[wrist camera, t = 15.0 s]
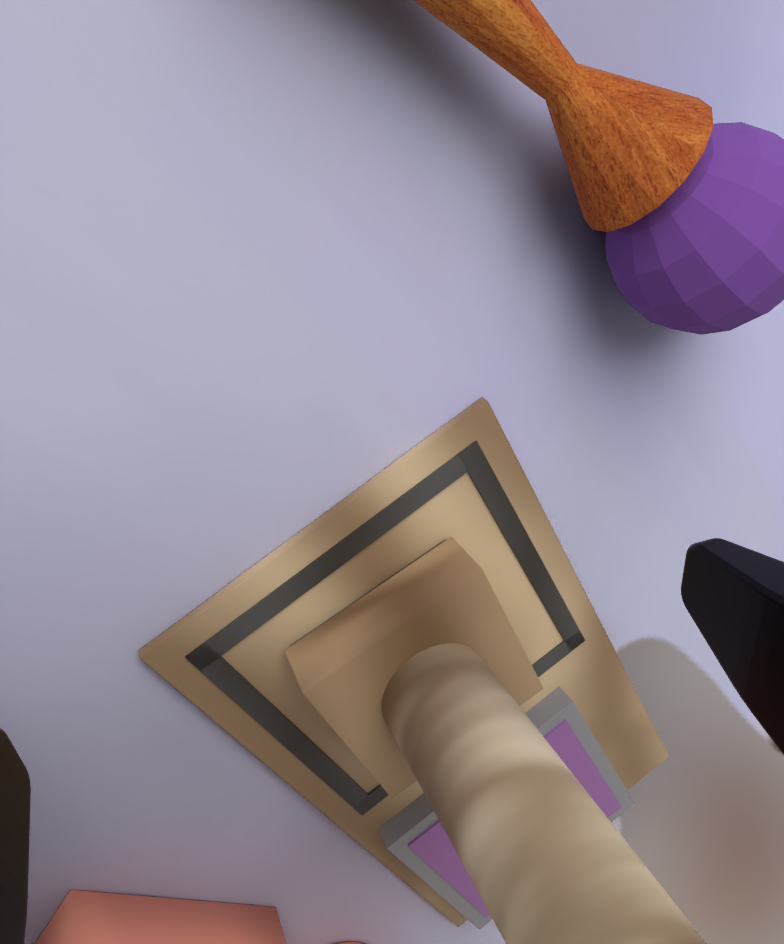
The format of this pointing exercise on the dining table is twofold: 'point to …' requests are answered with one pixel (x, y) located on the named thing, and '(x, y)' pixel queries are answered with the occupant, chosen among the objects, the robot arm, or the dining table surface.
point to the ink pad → (431, 850)
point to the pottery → (159, 921)
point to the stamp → (479, 754)
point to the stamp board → (366, 566)
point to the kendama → (651, 176)
